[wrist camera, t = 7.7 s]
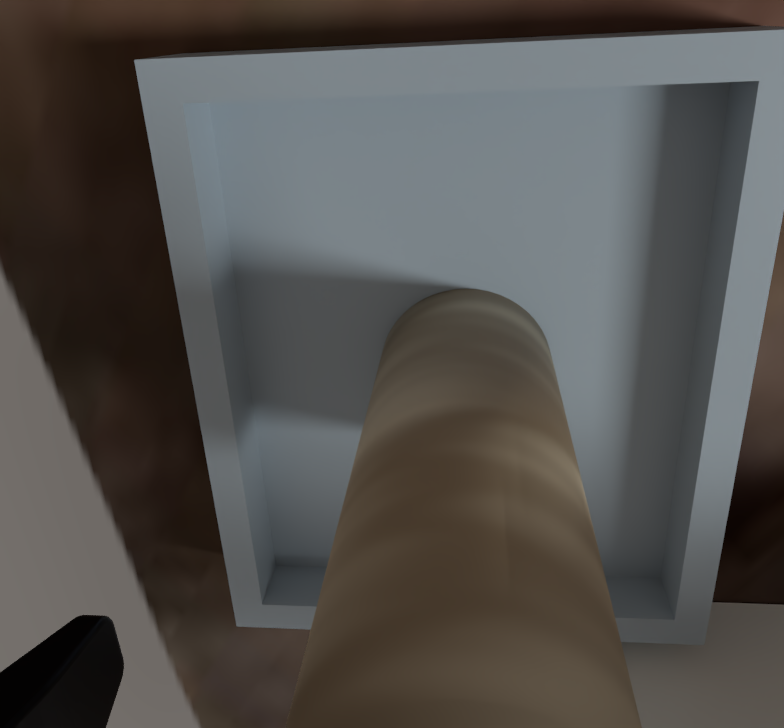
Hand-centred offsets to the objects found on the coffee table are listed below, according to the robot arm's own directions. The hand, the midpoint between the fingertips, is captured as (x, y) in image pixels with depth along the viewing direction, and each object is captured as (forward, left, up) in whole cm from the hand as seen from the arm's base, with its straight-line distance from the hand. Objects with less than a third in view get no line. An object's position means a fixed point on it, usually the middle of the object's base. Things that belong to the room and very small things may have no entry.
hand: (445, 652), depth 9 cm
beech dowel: (0, 0, -9) cm, 9 cm away
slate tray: (0, 0, -10) cm, 10 cm away
